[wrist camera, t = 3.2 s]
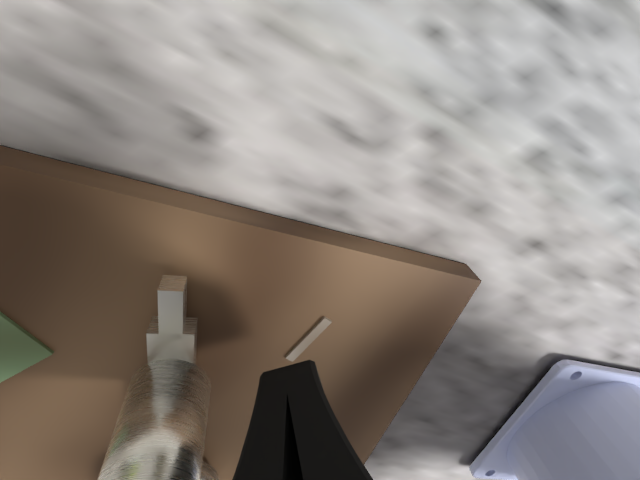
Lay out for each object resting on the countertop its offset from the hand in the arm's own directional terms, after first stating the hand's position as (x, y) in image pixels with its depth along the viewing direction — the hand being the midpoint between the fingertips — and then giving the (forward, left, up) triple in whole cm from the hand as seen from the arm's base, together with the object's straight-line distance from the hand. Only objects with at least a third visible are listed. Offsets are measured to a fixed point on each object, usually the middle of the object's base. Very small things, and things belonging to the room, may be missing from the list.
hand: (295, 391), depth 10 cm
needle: (+3, +4, -2) cm, 5 cm away
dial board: (+2, +6, -3) cm, 7 cm away
